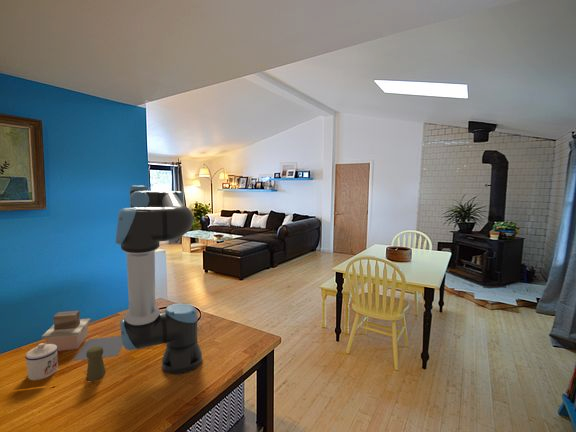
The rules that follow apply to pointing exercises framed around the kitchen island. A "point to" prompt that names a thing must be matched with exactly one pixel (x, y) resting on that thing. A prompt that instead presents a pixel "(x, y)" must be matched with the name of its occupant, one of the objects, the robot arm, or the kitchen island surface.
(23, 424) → the kitchen island surface
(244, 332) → the kitchen island surface
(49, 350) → the white lidded canister
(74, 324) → the lid
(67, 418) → the kitchen island surface
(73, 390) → the kitchen island surface
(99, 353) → the olive green rounded column
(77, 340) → the pink open box
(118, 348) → the mat
